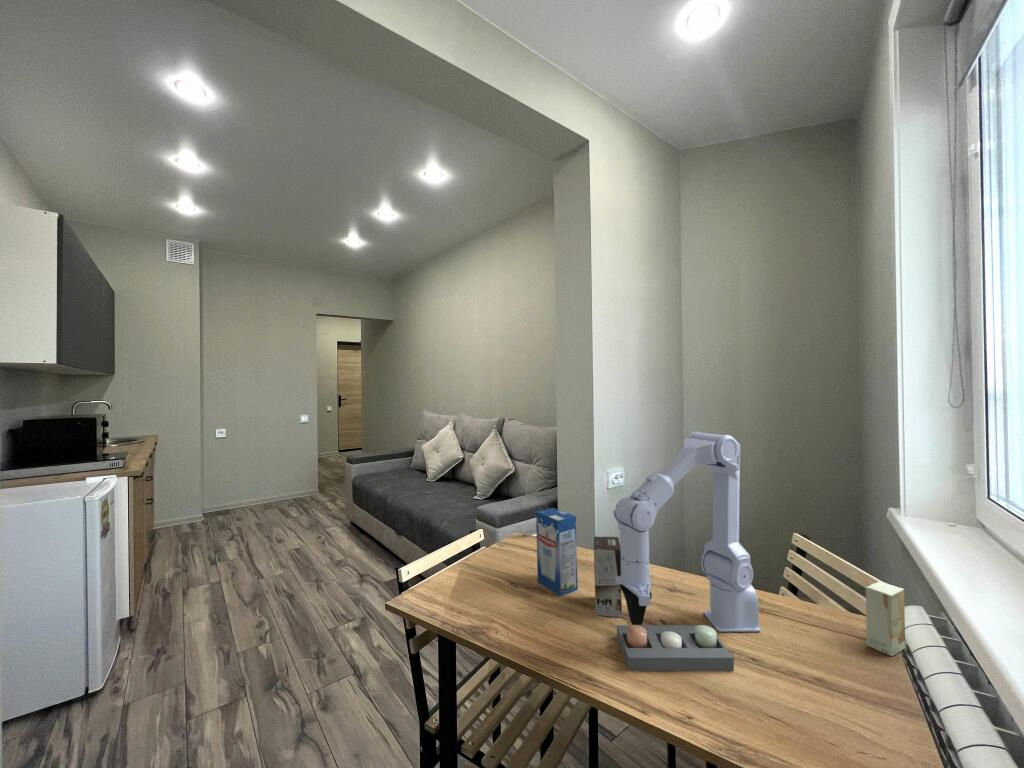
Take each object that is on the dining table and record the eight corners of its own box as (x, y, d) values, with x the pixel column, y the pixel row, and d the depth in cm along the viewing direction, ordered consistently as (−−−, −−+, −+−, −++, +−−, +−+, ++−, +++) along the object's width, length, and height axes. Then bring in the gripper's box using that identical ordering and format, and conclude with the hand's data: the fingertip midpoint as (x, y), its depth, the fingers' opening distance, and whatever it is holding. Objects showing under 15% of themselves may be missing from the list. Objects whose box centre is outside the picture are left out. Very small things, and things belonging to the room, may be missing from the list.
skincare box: (892, 657, 83) (890, 596, 83) (865, 646, 87) (864, 587, 87) (907, 647, 86) (905, 588, 86) (880, 636, 90) (879, 579, 90)
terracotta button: (644, 639, 89) (643, 625, 89) (649, 651, 85) (649, 636, 85) (625, 639, 89) (624, 625, 89) (629, 651, 85) (629, 636, 85)
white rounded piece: (677, 645, 88) (677, 631, 88) (684, 657, 84) (684, 642, 84) (658, 645, 89) (658, 631, 89) (664, 657, 85) (664, 642, 85)
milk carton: (577, 590, 114) (576, 516, 114) (560, 596, 110) (558, 520, 110) (554, 576, 122) (553, 507, 122) (537, 582, 119) (535, 511, 119)
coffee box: (622, 618, 100) (621, 550, 100) (595, 615, 101) (593, 548, 101) (620, 598, 109) (619, 536, 109) (595, 596, 110) (593, 535, 110)
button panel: (709, 636, 92) (709, 625, 92) (734, 670, 81) (733, 657, 81) (616, 636, 92) (616, 625, 92) (628, 670, 81) (628, 657, 81)
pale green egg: (711, 639, 88) (711, 625, 88) (720, 651, 84) (719, 636, 84) (692, 639, 88) (691, 625, 88) (699, 651, 84) (699, 636, 84)
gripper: (608, 544, 94) (610, 604, 94) (623, 572, 80) (624, 644, 80) (640, 543, 94) (641, 604, 94) (660, 572, 79) (662, 644, 79)
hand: (636, 623), depth 87 cm, fingers closed
